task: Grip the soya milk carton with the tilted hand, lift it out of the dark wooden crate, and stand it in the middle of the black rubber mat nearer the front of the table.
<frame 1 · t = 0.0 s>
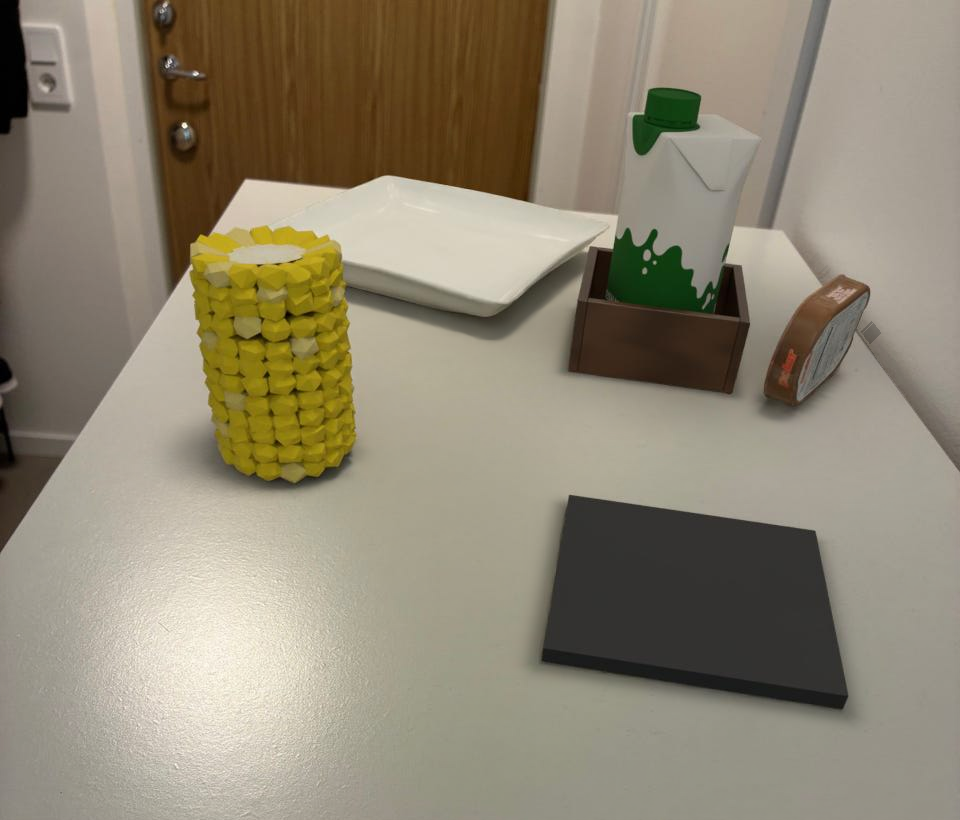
food: (283, 452, 68), on the table
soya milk: (650, 351, 86), resting in crate
tin: (803, 390, 82), on the table
square plate: (435, 267, 98), on the table
crate: (651, 349, 86), on the table
mat: (689, 596, 58), on the table
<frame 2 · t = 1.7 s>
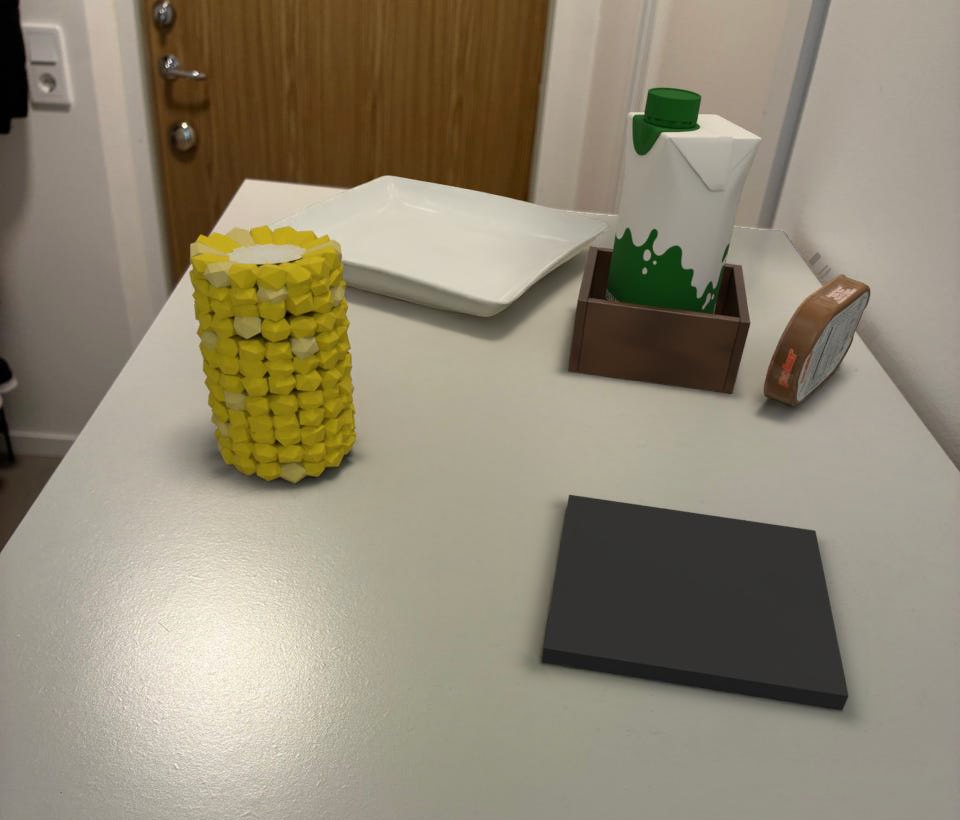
nothing on the table moved.
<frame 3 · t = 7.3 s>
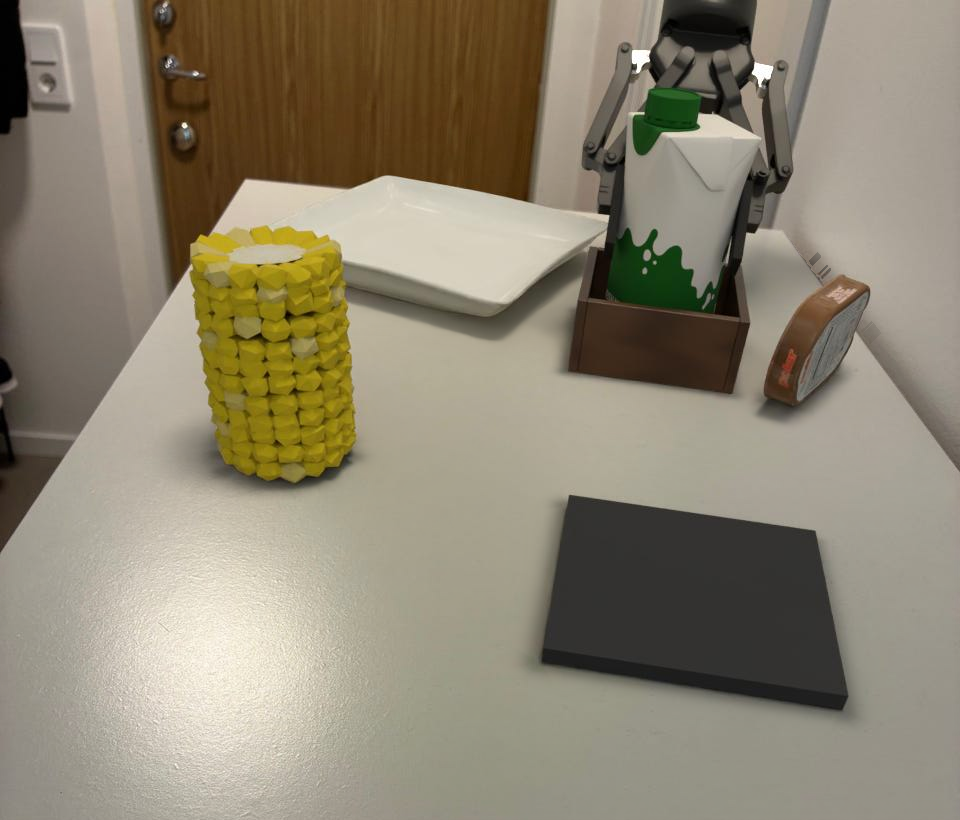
hand: (671, 259, 78), 9 cm above the table, tool tilted 45°, fingers closed on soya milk, 9 cm apart
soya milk: (650, 351, 86), resting in crate, touching gripper
everything else where it was.
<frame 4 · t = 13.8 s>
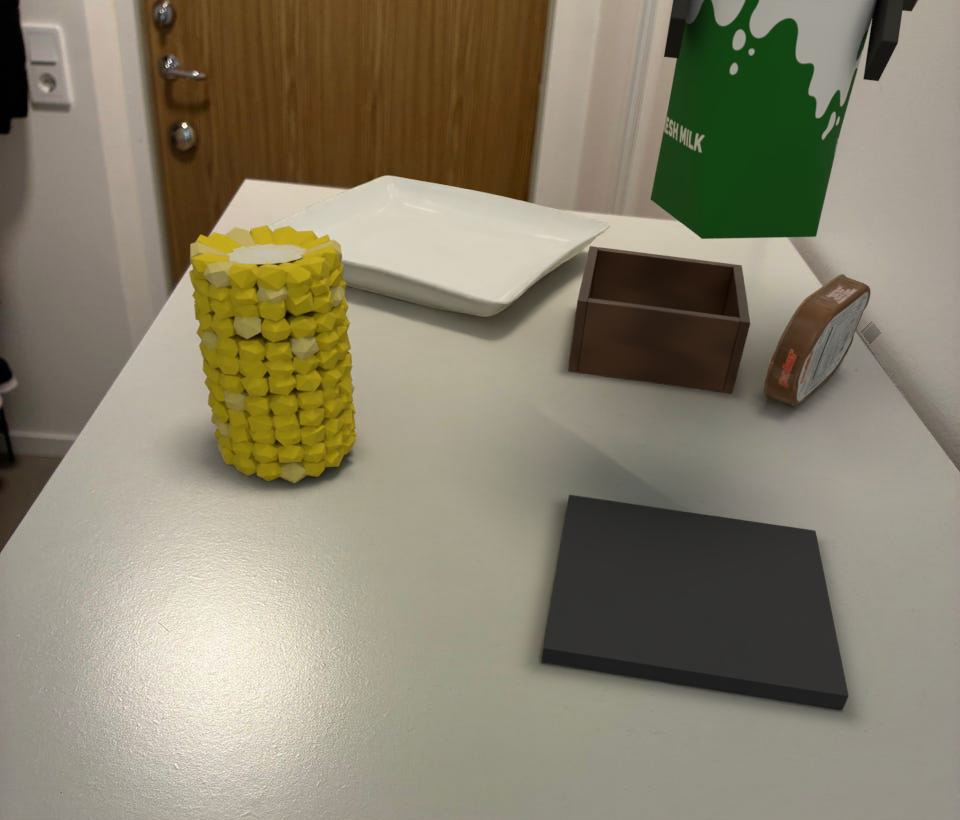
hand: (776, 50, 48), 27 cm above the table, tool tilted 45°, fingers closed on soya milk, 9 cm apart
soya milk: (731, 222, 56), point 18 cm above the table, touching gripper
everything else where it was.
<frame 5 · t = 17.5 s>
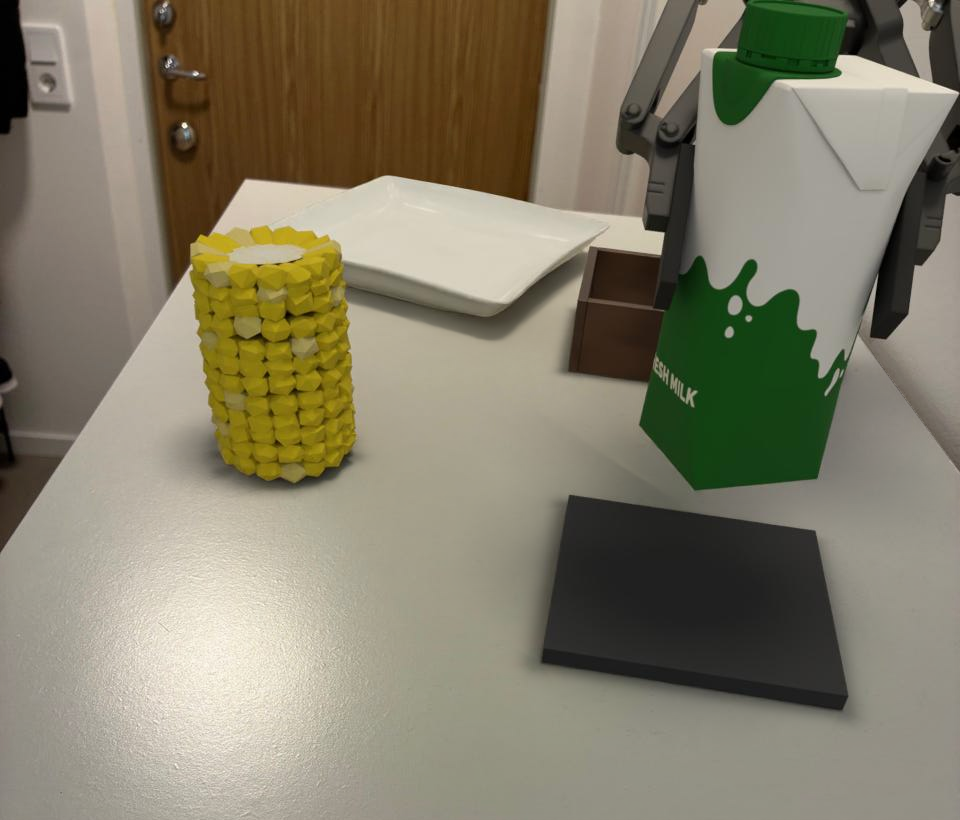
hand: (775, 311, 44), 18 cm above the table, tool tilted 45°, fingers closed on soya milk, 9 cm apart
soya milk: (725, 455, 52), point 9 cm above the table, touching gripper
everything else where it was.
when the fingers open (10 cm above the table, at t = 20.4 s): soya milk stays where it is, resting on mat.
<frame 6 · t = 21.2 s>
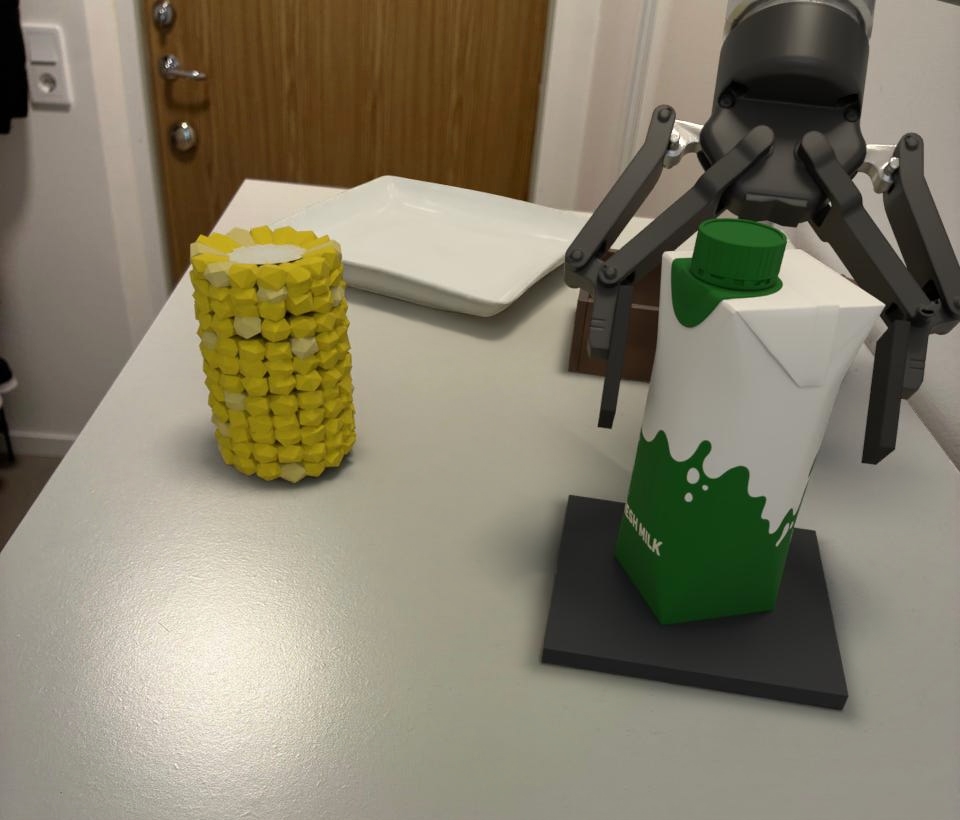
hand: (740, 438, 49), 11 cm above the table, tool tilted 45°, fingers open, 13 cm apart
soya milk: (691, 585, 58), point 1 cm above the table, touching mat
everything else where it was.
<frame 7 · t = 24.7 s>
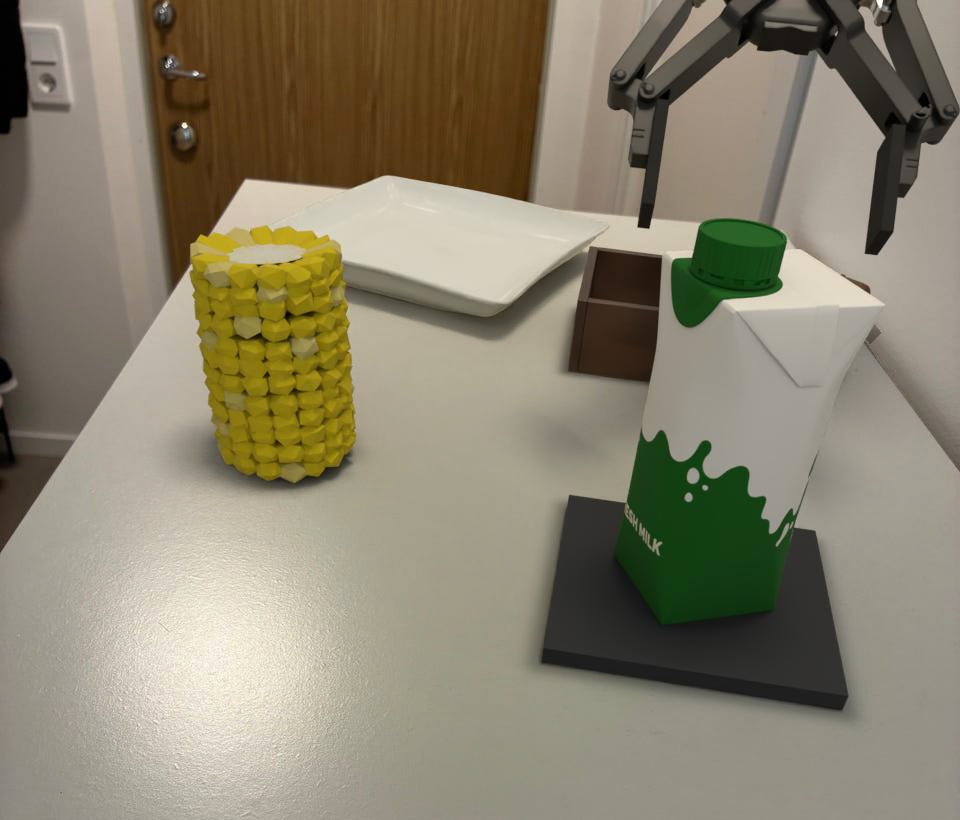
hand: (761, 230, 58), 17 cm above the table, tool tilted 45°, fingers open, 13 cm apart
nothing on the table moved.
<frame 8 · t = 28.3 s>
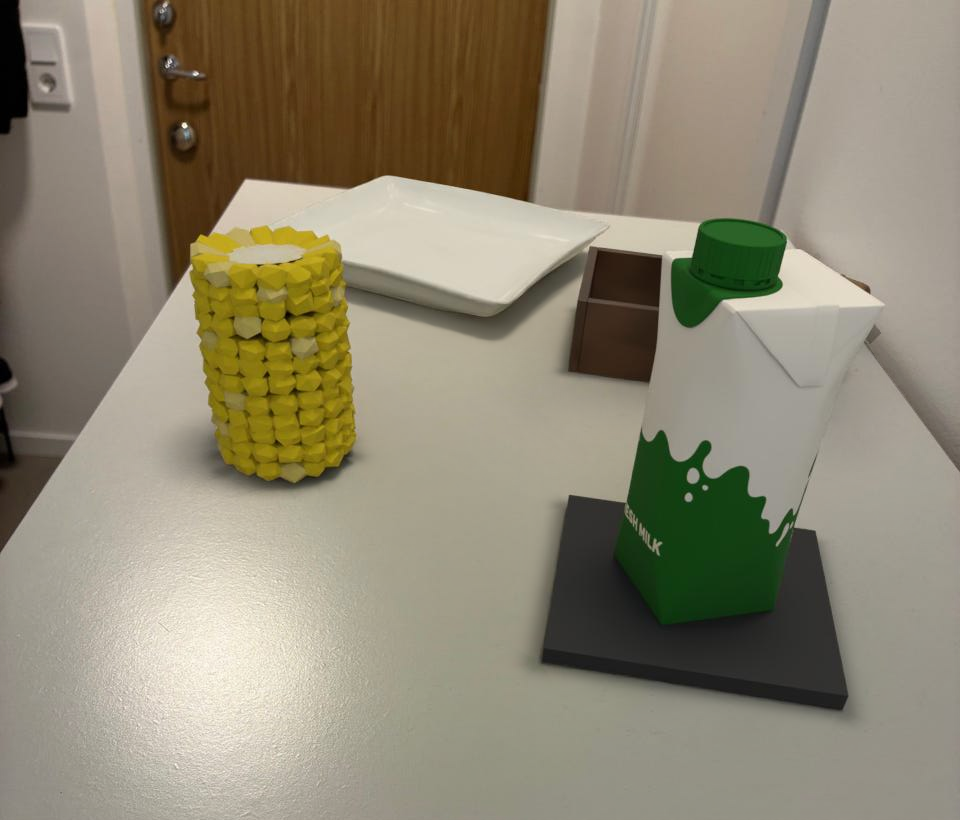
nothing on the table moved.
at the end: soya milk inside the target area on the mat (0.1 cm from its centre), point 0.8 cm above the mat's base; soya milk tilted 0°; the gripper is holding nothing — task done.
